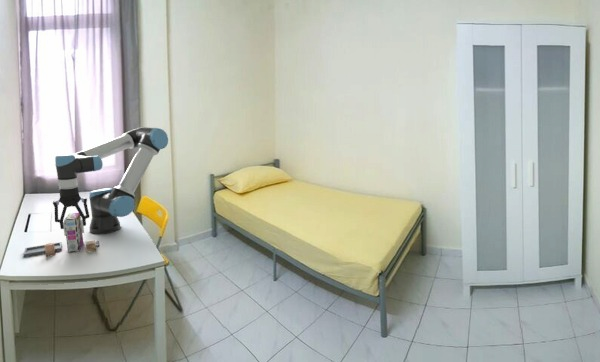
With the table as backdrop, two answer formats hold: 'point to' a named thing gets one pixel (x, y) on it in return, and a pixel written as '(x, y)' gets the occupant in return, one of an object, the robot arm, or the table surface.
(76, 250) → the candy bar box
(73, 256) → the table surface
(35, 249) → the slate tray
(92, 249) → the oak cube
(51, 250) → the brown small cube
